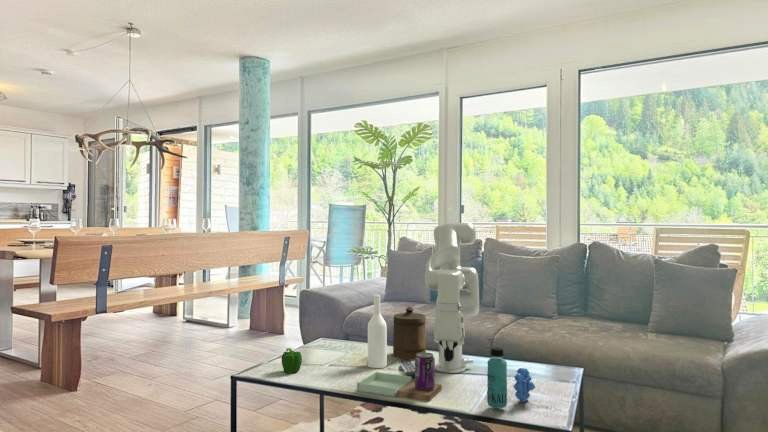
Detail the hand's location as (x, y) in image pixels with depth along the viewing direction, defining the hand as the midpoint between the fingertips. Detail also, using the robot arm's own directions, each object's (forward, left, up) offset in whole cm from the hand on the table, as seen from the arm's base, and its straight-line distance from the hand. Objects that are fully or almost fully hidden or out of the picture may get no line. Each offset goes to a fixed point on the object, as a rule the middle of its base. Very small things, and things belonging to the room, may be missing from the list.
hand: (448, 360), depth 181 cm
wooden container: (-3, -57, -13) cm, 59 cm away
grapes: (-23, +11, -13) cm, 29 cm away
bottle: (+15, -45, -13) cm, 49 cm away
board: (+8, -8, -13) cm, 17 cm away
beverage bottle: (-11, +14, -13) cm, 22 cm away
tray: (+19, -17, -13) cm, 28 cm away
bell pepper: (+51, -46, -13) cm, 70 cm away
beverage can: (+7, -6, -11) cm, 15 cm away
